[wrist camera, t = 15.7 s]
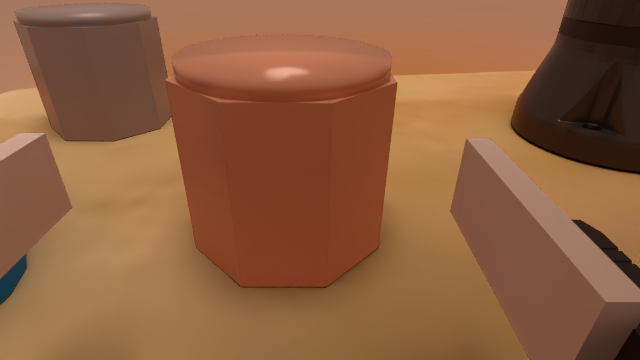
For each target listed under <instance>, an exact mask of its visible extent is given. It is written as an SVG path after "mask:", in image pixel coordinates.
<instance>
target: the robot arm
mask: <svg viewBox="0 0 640 360" xmlns="http://www.w3.org/2000/svg"><path fill="white" fill-rule="evenodd" d="M511 123H512V126H513V128H514V129H515V130H516V131H517V132H518V133H519V134H520V135H522V136H523V137H525V138H526V139H528V140H529V141H531V142H533V143H535V144H537V145H539V146H541V147H543V148H546V149H548V150H551V151H553V152H556V153H558V154H561V155H564V156H567V157H571V158H574V159H577V160H581V161H584V162H588V163H592V164H597V165H601V166H606V167H611V168H617V169H623V170H630V171H638V172H640V0H568V3H567V6H566V9H565V12H564V16H563V19H562V22H561V26H560V28H559V32H558V35H557V38H556V41H555V43H554V45H553V47H552V48H551V50H550V51H549V53H548V54H547V56H546V57H545V59H544V60H543V62H542V63H541V65H540V66H539V68H538V69H537V70H536V72H535V73H534V75H533V76H532V78H531V79H530V81H529V83H528V84H527V86H526V87H525V89H524V90H523V92H522V93H521V94H520V96H519V98H518V100H517V102H516V105H515V109H514V112H513V116H512V119H511ZM71 208H72V205H71V203H70V200H69V197H68V194H67V192H66V189H65V186H64V184H63V181H62V178H61V175H60V173H59V170H58V167H57V165H56V162H55V159H54V157H53V154H52V151H51V148H50V146H49V143H48V140H47V138H46V135H45V133H19V134H17V135H16V136H14V137H12V138H10V139H8V140H7V141H5V142H3V143H1V144H0V279H1V278H2V277H3V276H4V275H5V274H6V273H7V272H8V271H9V270H10V269H11V268H12V267H13V266H14V265H15V264H16V263H17V262H18V261H19V260H20V259H21V258H22V257H23V256H24V255H25V254H26V253H27V252H28V251H29V250H30V249H31V248H32V247H33V246H34V245H35V244H36V243H37V242H38V241H39V240H40V239H41V238H42V237H43V236H44V235H45V234H46V233H47V232H48V231H49V230H50V229H51V228H52V227H53V226H54V225H55V224H56V223H57V222H58V221H59V220H60V219H61V218H62V217H63V216H64V215H65V214H66V213H67V212H68V211H69V210H70V209H71ZM450 212H451V213H452V215H453V217H454V219H455V221H456V223H457V225H458V227H459V228H460V230H461V232H462V234H463V236H464V238H465V240H466V241H467V243H468V245H469V247H470V249H471V251H472V253H473V254H474V256H475V258H476V260H477V262H478V264H479V266H480V267H481V269H482V271H483V273H484V275H485V277H486V279H487V281H488V282H489V284H490V286H491V288H492V290H493V292H494V294H495V295H496V297H497V299H498V301H499V303H500V305H501V307H502V308H503V310H504V312H505V314H506V316H507V318H508V320H509V321H510V323H511V325H512V327H513V329H514V331H515V333H516V335H517V336H518V338H519V340H520V342H521V344H522V346H523V348H524V349H525V351H526V353H527V355H528V357H529V359H530V360H640V268H639V267H638V266H637V265H636V264H632V261H631V260H630V259H629V258H628V257H627V256H626V255H625V254H624V253H623V252H622V251H618V247H617V246H616V245H614V244H613V243H612V242H611V241H610V240H609V239H608V238H607V237H606V236H605V235H604V234H603V233H602V232H600V231H598V230H596V229H595V228H593V227H591V226H590V225H588V224H586V223H585V222H583V221H581V220H571V219H570V218H569V217H568V216H567V215H566V214H565V213H564V212H563V211H562V210H561V209H560V208H559V207H558V206H557V205H556V204H555V203H554V202H553V201H552V200H551V199H550V198H549V197H548V196H547V195H546V194H545V193H544V192H543V191H542V190H541V189H540V188H539V187H538V186H537V185H536V184H535V183H534V182H533V181H532V180H531V179H530V178H529V177H528V176H527V175H526V174H525V173H524V172H523V171H522V170H521V169H520V168H519V167H518V166H517V165H516V164H515V163H514V162H513V161H512V160H511V159H510V158H509V157H508V156H507V155H506V154H505V153H504V152H503V151H502V150H501V149H500V148H499V147H498V146H497V144H496V143H495V142H494V141H493V140H492V139H482V138H466V142H465V147H464V151H463V156H462V160H461V165H460V169H459V174H458V178H457V183H456V187H455V192H454V196H453V201H452V205H451V210H450Z"/></svg>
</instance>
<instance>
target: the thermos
mask: <svg viewBox="0 0 640 360" xmlns="http://www.w3.org/2000/svg"><path fill="white" fill-rule="evenodd" d="M26 268H27V266H26V254H25V255H24V256H23V257H22V258H21V259H20V260H19V261H18V262H17V263H16V264H15V265H14V266H13V267H12V268H11V269H10V270H9V271H8V272H7V273H6V274H5V275H4V276H3V277H2V278H1V279H0V304H1V303H2V302H3V301H4V300H5V299H6V298H7V297H9V296H10V295H11V293H12V292H13V290H14V288H15V287H16V285H17V283H18V281H19V280H20V278H21V276H22V275H23V273H24V271H25V270H26Z"/></svg>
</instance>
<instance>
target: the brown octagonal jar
mask: <svg viewBox="0 0 640 360" xmlns="http://www.w3.org/2000/svg"><path fill="white" fill-rule="evenodd" d="M15 14H16V17H17V20H18V21H14V24H15V27H16V29H17V32H18V35H19V38H20V41H21V44H22V46H23V49H24V52H25V55H26V57H27V60H28V63H29V66H30V69H31V71H32V74H33V77H34V80H35V82H36V85H37V88H38V91H39V94H40V97H41V99H42V102H43V105H44V108H45V110H46V113H47V116H48V119H49V122H50V124H51V127H52V128H53V129H54V130H55V131H56V132H57V133H58V134H59V135H60V136H61V137H63V138H64V139H65V141H116V140H119V139H123V138H127V137H130V136H134V135H138V134H141V133H145V132H149V131H153V130H156V129H160V128H161V127H162V126H163V125H164V124H165V123H166V122H167V120H168V119H169V118H170V117H171V111H170V105H169V100H168V95H167V89H166V84H165V79H167V78H168V77H167V71H166V66H165V60H164V55H163V49H162V44H161V38H160V33H159V27H158V22H157V17H155V16H151V11H150V7H149V6H145V5H137V4H119V3H93V4H91V3H90V4H64V5H49V6H38V7H30V8H24V9H19V10H16V11H15Z"/></svg>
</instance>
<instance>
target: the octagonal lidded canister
mask: <svg viewBox="0 0 640 360" xmlns="http://www.w3.org/2000/svg"><path fill="white" fill-rule="evenodd" d="M172 64H173V70H174V73H173V74H172V75H171V76H169V77H168V78H167V79H165V84H166V89H167V95H168V100H169V105H170V111H171V116H172V121H173V126H174V132H175V137H176V142H177V148H178V153H179V158H180V164H181V169H182V174H183V179H184V185H185V190H186V195H187V201H188V206H189V211H190V217H191V222H192V227H193V232H194V238H195V243H196V248H198V249H199V250H200V251H201V252H203V253H204V254H205V255H206V256H207V257H208V258H209V259H210V260H212V261H213V262H214V263H215V264H216V265H217V266H218V267H219V268H221V269H222V270H223V271H224V272H225V273H226V274H227V275H228V276H230V277H231V278H232V279H233V280H234V281H235V282H236V283H237V284H239V285H240V287H327V286H328V285H330V284H331V283H332V282H334V281H335V280H336V279H338V278H339V277H340V276H341V275H343V274H344V273H345V272H347V271H348V270H349V269H351V268H352V267H353V266H355V265H356V264H357V263H359V262H360V261H361V260H363V259H364V258H365V257H366V256H368V255H369V254H370V253H372V252H373V251H374V250H376V249H377V248H378V246H379V237H380V229H381V220H382V211H383V203H384V194H385V186H386V177H387V168H388V160H389V151H390V143H391V134H392V125H393V117H394V108H395V99H396V91H397V82H396V80H395V79H394V77H393V76H392V74H391V64H392V55H391V53H389V52H388V51H387V50H385V49H383V48H381V47H379V46H376V45H373V44H369V43H365V42H361V41H355V40H350V39H343V38H335V37H325V36H312V35H255V36H241V37H231V38H223V39H216V40H210V41H205V42H200V43H196V44H193V45H189V46H186V47H184V48H182V49H180V50H178V51H176V52H175V53H174V54H173V55H172Z"/></svg>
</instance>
